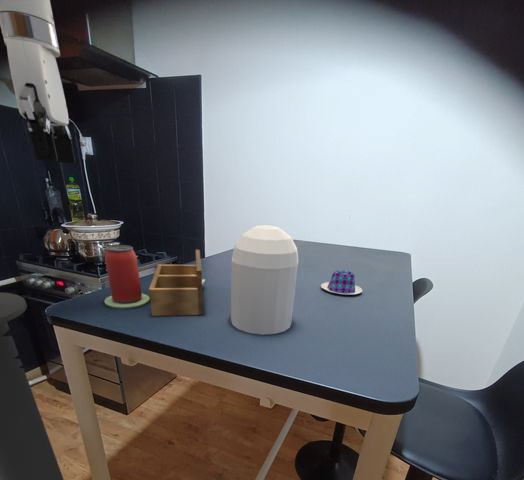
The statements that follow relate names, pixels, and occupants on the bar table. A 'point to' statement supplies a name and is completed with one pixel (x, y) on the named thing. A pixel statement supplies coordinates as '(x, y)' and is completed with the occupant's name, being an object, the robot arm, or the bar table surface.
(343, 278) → the pudding
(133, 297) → the beer can
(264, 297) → the container
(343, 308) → the bar table surface
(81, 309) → the bar table surface
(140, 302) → the coaster
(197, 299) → the box
